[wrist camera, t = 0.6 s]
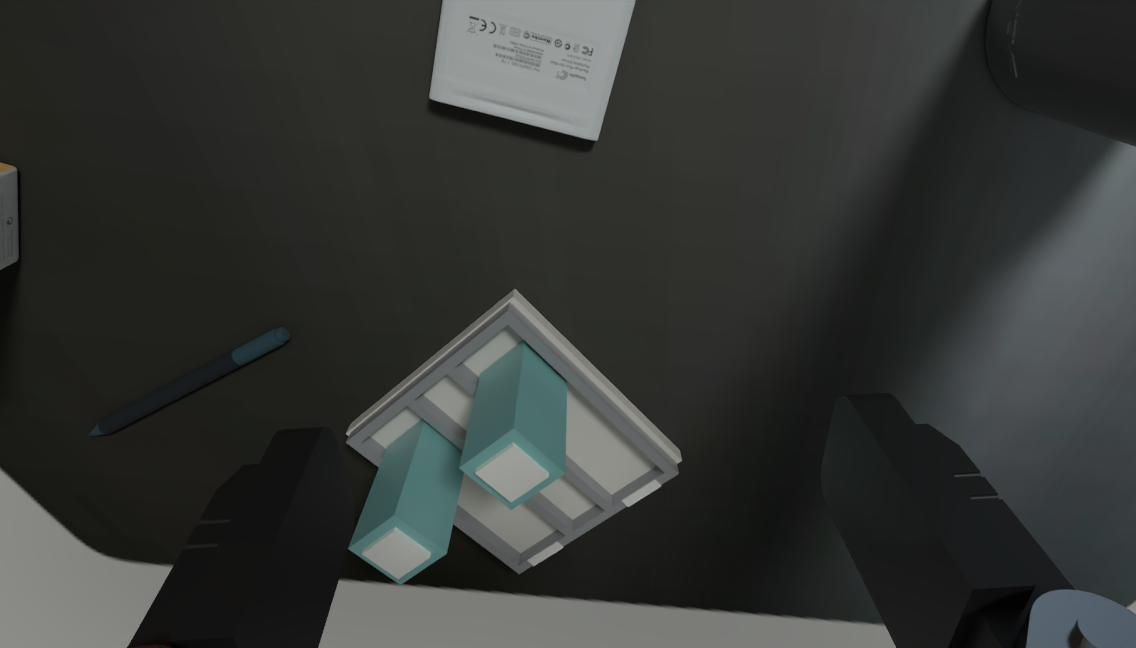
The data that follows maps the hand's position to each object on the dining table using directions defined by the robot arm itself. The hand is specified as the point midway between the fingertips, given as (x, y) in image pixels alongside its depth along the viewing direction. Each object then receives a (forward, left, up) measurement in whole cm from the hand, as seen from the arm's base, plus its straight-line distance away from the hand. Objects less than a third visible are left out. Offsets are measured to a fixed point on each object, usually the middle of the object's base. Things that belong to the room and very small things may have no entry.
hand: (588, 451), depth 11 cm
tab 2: (+5, +13, -23) cm, 27 cm away
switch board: (+6, +18, -24) cm, 31 cm away
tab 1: (+11, +18, -23) cm, 31 cm away
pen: (+25, +12, -25) cm, 37 cm away
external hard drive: (+1, -7, -25) cm, 26 cm away
